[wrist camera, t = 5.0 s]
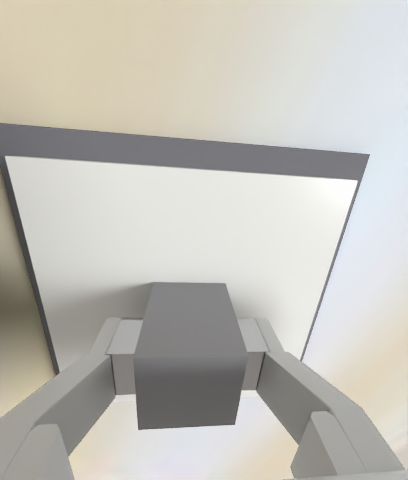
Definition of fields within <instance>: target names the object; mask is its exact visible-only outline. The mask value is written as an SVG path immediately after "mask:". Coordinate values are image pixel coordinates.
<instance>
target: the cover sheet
mask: <svg viewBox="0 0 408 480" xmlns="http://www.w3.org/2000/svg"><path fill="white" fill-rule="evenodd" d="M5 159H6V163H7V167H8V171H9V175H10V179H11V183H12V187H13V191H14V194H15V198H16V202H17V206H18V210H19V214H20V218H21V222H22V226H23V230H24V234H25V238H26V242H27V245H28V249H29V253H30V257H31V261H32V265H33V269H34V273H35V277H36V281H37V285H38V289H39V292H40V296H41V300H42V304H43V308H44V312H45V316H46V320H47V324H48V328H49V332H50V336H51V339H52V343H53V347H54V351H55V355H56V359H57V363H58V367H59V371H60V372H62V371H63V370H64V369H66V368H67V367H68V366H70V365H71V364H72V363H74V362H75V361H76V360H78V359H79V358H80V357H81V356H85V355H88V353H89V351H90V349H91V347H92V345H93V344H94V342H95V340H96V338H97V336H98V334H99V332H100V330H101V328H102V326H103V324H104V322H105V320H106V319H107V318H108V317H116V318H123V317H128V318H144V320H143V323H142V327H141V331H140V334H139V338H138V342H137V345H136V349H135V353H134V356H133V364H134V378H135V391H136V394H130V395H115V399H114V400H113V401H112V402H111V403H124V402H136V405H137V419H138V430H142V429H161V428H180V427H199V426H218V425H235V421H236V416H237V411H238V406H239V401H240V398H249V397H260V396H259V394H258V393H257V392H256V391H257V390H242V386H243V381H244V376H245V370H246V365H247V360H248V353H247V350H246V346H245V343H244V340H243V337H242V334H241V331H240V328H239V324H238V321H237V318H254V317H266V318H267V319H268V320H269V322H270V324H271V326H272V328H273V330H274V332H275V334H276V336H277V338H278V340H279V341H280V343H281V345H282V347H283V349H284V351H285V352H290V353H291V354H292V355H294V356H295V357H296V358H297V359H299V360H300V359H301V356H302V352H303V349H304V346H305V343H306V340H307V337H308V334H309V331H310V328H311V325H312V321H313V318H314V315H315V312H316V309H317V306H318V303H319V300H320V297H321V294H322V291H323V287H324V284H325V281H326V278H327V275H328V272H329V269H330V266H331V263H332V260H333V257H334V253H335V250H336V247H337V244H338V241H339V238H340V235H341V232H342V229H343V226H344V222H345V219H346V216H347V213H348V210H349V207H350V204H351V201H352V198H353V195H354V192H355V188H356V185H357V182H358V181H357V180H348V179H339V178H325V177H311V176H297V175H282V174H268V173H254V172H240V171H226V170H211V169H197V168H183V167H169V166H155V165H141V164H126V163H112V162H98V161H84V160H70V159H56V158H41V157H27V156H5Z"/></svg>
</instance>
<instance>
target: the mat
mask: <svg viewBox="0 0 408 480" xmlns="http://www.w3.org/2000/svg"><path fill="white" fill-rule="evenodd" d="M5 156H27V157H41V158H56V159H70V160H84V161H98V162H112V163H126V164H141V165H155V166H169V167H183V168H197V169H211V170H226V171H240V172H254V173H268V174H282V175H297V176H311V177H325V178H339V179H348V180H357V181H358V182H357V185H356V188H355V192H354V195H353V198H352V201H351V204H350V207H349V210H348V213H347V216H346V219H345V222H344V226H343V229H342V232H341V235H340V238H339V241H338V244H337V247H336V250H335V253H334V257H333V260H332V263H331V266H330V269H329V272H328V275H327V278H326V281H325V284H324V287H323V291H322V294H321V297H320V300H319V303H318V306H317V309H316V312H315V315H314V318H313V321H312V325H311V328H310V331H309V334H308V337H307V340H306V343H305V346H304V349H303V352H302V356H301V359H300V361H301V362H302V359H303V356H304V353H305V350H306V347H307V344H308V341H309V338H310V335H311V332H312V329H313V326H314V323H315V320H316V317H317V314H318V311H319V308H320V305H321V302H322V299H323V296H324V293H325V289H326V286H327V283H328V280H329V277H330V274H331V271H332V268H333V265H334V262H335V259H336V256H337V253H338V250H339V247H340V244H341V241H342V238H343V235H344V232H345V229H346V226H347V223H348V219H349V216H350V213H351V210H352V207H353V204H354V201H355V198H356V195H357V192H358V189H359V186H360V183H361V180H362V177H363V174H364V171H365V168H366V165H367V162H368V159H369V156H370V154H360V153H348V152H336V151H324V150H312V149H300V148H288V147H277V146H265V145H253V144H241V143H229V142H217V141H205V140H194V139H182V138H170V137H158V136H146V135H134V134H122V133H111V132H99V131H87V130H75V129H63V128H51V127H39V126H27V125H16V124H4V123H0V167H1V171H2V174H3V178H4V182H5V186H6V189H7V193H8V197H9V201H10V204H11V208H12V212H13V216H14V219H15V223H16V227H17V231H18V234H19V238H20V242H21V246H22V249H23V253H24V257H25V261H26V264H27V268H28V272H29V276H30V279H31V283H32V287H33V291H34V294H35V298H36V302H37V306H38V309H39V313H40V317H41V321H42V324H43V328H44V332H45V336H46V339H47V343H48V347H49V351H50V354H51V358H52V362H53V366H54V369H55V373H56V375H58V374H59V373H60V371H59V367H58V363H57V359H56V355H55V351H54V347H53V343H52V339H51V336H50V332H49V328H48V324H47V320H46V316H45V312H44V308H43V304H42V300H41V296H40V292H39V289H38V285H37V281H36V277H35V273H34V269H33V265H32V261H31V257H30V253H29V249H28V245H27V242H26V238H25V234H24V230H23V226H22V222H21V218H20V214H19V210H18V206H17V202H16V198H15V194H14V191H13V187H12V183H11V179H10V175H9V171H8V167H7V163H6V159H5Z"/></svg>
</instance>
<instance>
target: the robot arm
mask: <svg viewBox="0 0 408 480" xmlns="http://www.w3.org/2000/svg"><path fill="white" fill-rule="evenodd" d="M143 320H144V318H128V317H123V318H116V317H108V318H107V319H106V320H105V322H104V324H103V326H102V328H101V330H100V332H99V334H98V336H97V338H96V340H95V342H94V344H93V345H92V347H91V349H90V351H89V353H88V355H85V356H81V357H80V358H79V359H78V360H76V361H75V362H74V363H72V364H71V365H70V366H68V367H67V368H66V369H64V370H63V371H62V372H60V373H59V374H58V375H56V376H55V377H54V378H52V379H51V380H50V381H49V382H47V383H46V384H45V385H43V386H42V387H41V388H39V389H38V390H37V391H35V392H34V393H33V394H31V395H30V396H29V397H27V398H26V399H25V400H23V401H22V402H21V403H20V404H18V405H17V406H16V407H14V408H13V409H12V410H10V411H9V412H8V413H6V414H5V415H4V416H2V417H1V418H0V480H74V476H73V473H72V469H71V466H70V462H69V459H68V456H69V455H70V454H71V453H72V451H73V450H74V449H75V448H76V446H77V445H78V444H79V443H80V441H81V440H82V439H83V438H84V436H85V435H86V434H87V433H88V431H89V430H90V429H91V427H92V426H93V425H94V424H95V422H96V421H97V420H98V419H99V417H100V416H101V415H102V414H103V412H104V411H105V410H106V409H107V407H108V406H109V405H110V404H111V402H112V401H113V400H114V399H115V395H130V394H136V391H135V378H134V364H133V356H134V353H135V349H136V345H137V342H138V338H139V334H140V331H141V327H142V323H143ZM237 321H238V324H239V328H240V331H241V334H242V337H243V340H244V343H245V346H246V350H247V353H248V360H247V365H246V370H245V376H244V381H243V386H242V390H257V391H256V392H257V393H258V394H259V396H260V397H261V398H262V399H263V401H264V402H265V403H266V404H267V406H268V407H269V408H270V410H271V411H272V412H273V413H274V415H275V416H276V417H277V418H278V420H279V421H280V422H281V423H282V425H283V426H284V427H285V428H286V430H287V431H288V432H289V433H290V435H291V436H292V437H293V438H294V440H295V441H296V442H297V444H298V445H299V447H298V449H297V452H296V454H295V457H294V459H293V462H292V464H291V470H292V473H293V476H294V479H283V480H408V470H406V469H405V468H404V467H403V465H402V464H401V462H400V461H399V460H398V458H397V457H396V455H395V454H394V452H393V451H392V450H391V448H390V447H389V445H388V444H387V443H386V441H385V440H384V438H383V437H382V436H381V434H380V433H379V431H378V430H377V428H376V427H375V426H374V424H373V423H372V421H371V420H370V419H369V417H368V416H367V414H366V413H365V412H364V410H363V409H362V408H361V407H360V406H359V405H357V404H356V403H355V402H353V401H352V400H351V399H350V398H348V397H347V396H346V395H344V394H343V393H342V392H340V391H339V390H338V389H337V388H335V387H334V386H333V385H331V384H330V383H329V382H327V381H326V380H325V379H324V378H322V377H321V376H320V375H318V374H317V373H316V372H314V371H313V370H312V369H311V368H309V367H308V366H307V365H305V364H304V363H303V362H301V361H300V360H299V359H297V358H296V357H295V356H294V355H292V354H291V353H290V352H285V351H284V349H283V347H282V345H281V343H280V341H279V340H278V338H277V336H276V334H275V332H274V330H273V328H272V326H271V324H270V322H269V320H268V319H267V318H266V317H254V318H237Z"/></svg>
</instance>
